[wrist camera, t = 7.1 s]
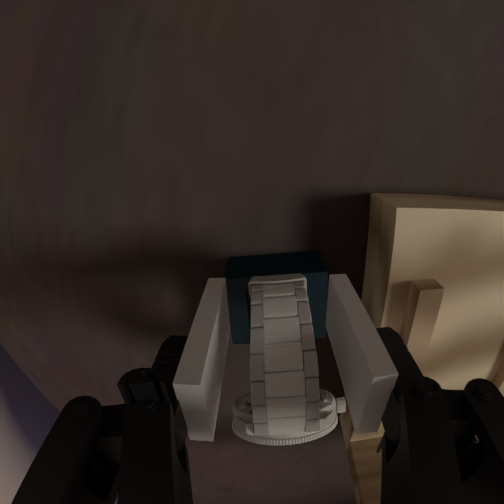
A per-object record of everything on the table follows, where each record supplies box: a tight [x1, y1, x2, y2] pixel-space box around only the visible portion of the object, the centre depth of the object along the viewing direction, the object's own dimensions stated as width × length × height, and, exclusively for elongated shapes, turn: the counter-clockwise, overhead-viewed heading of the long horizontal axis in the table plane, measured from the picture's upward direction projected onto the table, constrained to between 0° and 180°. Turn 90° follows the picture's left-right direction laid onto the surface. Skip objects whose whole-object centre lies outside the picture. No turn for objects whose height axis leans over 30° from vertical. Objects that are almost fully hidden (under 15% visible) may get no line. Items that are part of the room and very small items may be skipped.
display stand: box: [339, 193, 504, 504], centre depth 14 cm, size 20×16×14 cm
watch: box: [224, 251, 346, 445], centre depth 15 cm, size 6×8×11 cm
